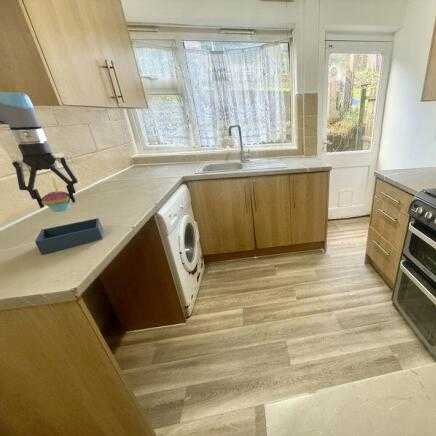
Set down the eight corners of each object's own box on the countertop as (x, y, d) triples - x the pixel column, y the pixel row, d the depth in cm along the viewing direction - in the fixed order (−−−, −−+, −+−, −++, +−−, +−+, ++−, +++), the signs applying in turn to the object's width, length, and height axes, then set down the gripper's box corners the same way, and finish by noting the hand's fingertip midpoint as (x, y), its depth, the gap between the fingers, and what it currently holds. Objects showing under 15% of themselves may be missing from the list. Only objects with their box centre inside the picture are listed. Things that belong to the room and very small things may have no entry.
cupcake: (64, 205, 99) (51, 176, 94) (81, 206, 97) (68, 176, 92) (41, 213, 91) (24, 182, 86) (58, 214, 89) (43, 183, 84)
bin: (41, 254, 90) (34, 241, 88) (47, 241, 99) (41, 229, 97) (102, 239, 100) (98, 227, 97) (102, 229, 109) (98, 217, 107)
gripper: (-18, 146, 75) (16, 213, 85) (71, 141, 87) (93, 201, 96) (-9, 144, 81) (22, 207, 90) (73, 139, 92) (93, 196, 101)
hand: (58, 204), depth 93 cm, fingers closed on cupcake, 8 cm apart
